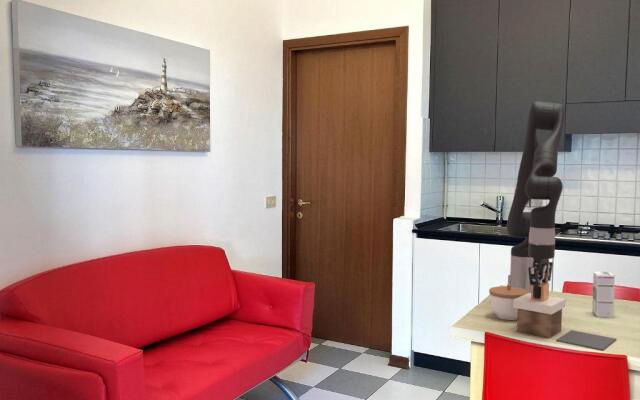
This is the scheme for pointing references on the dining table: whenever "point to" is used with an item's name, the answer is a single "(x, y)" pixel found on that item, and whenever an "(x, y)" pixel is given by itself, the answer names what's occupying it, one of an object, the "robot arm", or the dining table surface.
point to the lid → (540, 301)
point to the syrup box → (603, 294)
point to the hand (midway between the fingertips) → (539, 296)
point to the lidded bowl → (505, 301)
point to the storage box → (539, 323)
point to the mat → (586, 340)
